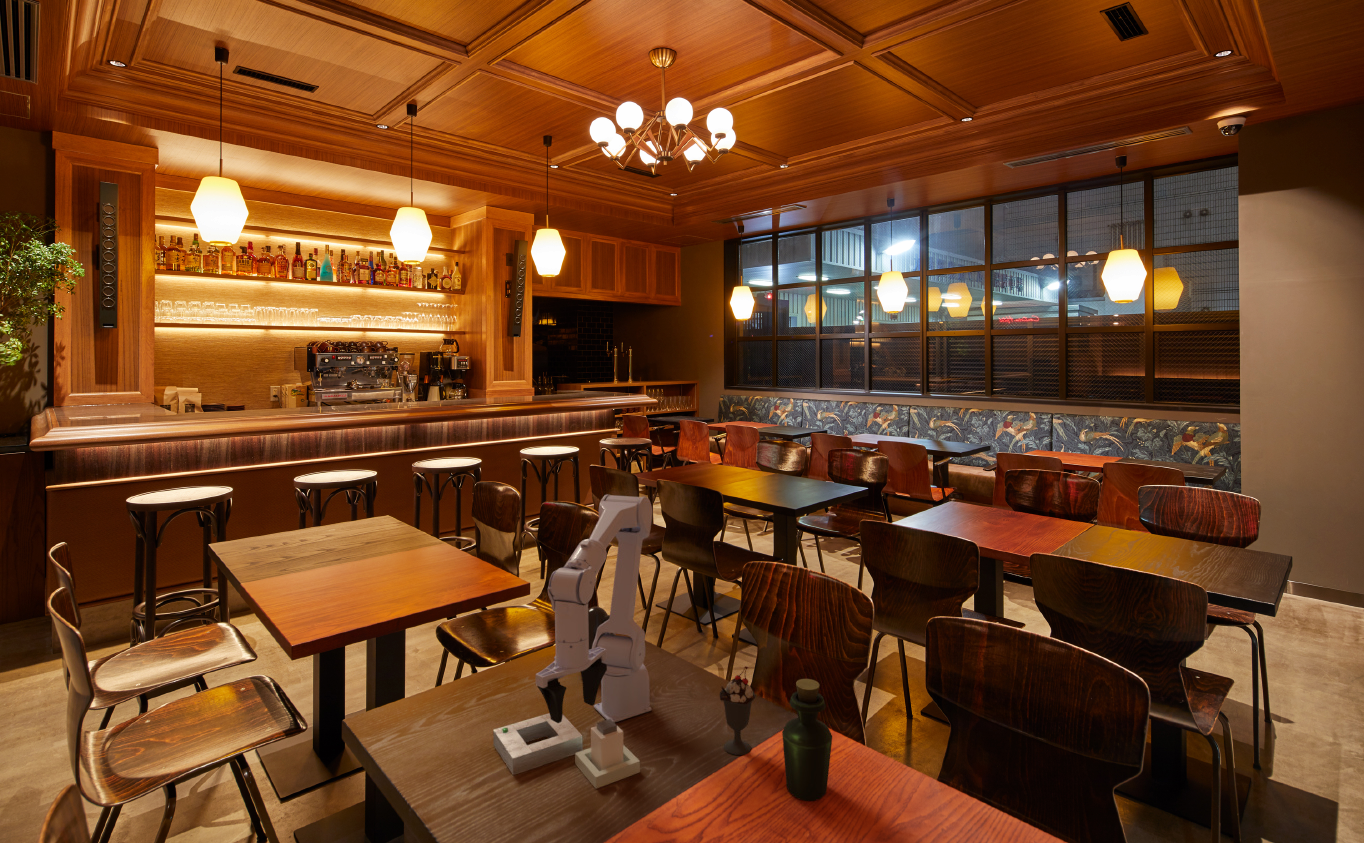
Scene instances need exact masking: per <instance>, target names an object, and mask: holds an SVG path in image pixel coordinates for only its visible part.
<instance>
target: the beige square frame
mask: <svg viewBox="0 0 1364 843" xmlns="http://www.w3.org/2000/svg"><path fill="white" fill-rule="evenodd" d="M574 762H575V763H574V764H575V766H576V767H577V768H578V769H579V771H581V773H582V774H583V775H584V776H585V778H586V779H587V780H588V781H589V782H590V784H591V785H592V786H593V787H594V789H595V790H596V789H599V788H602V787H604V786H607V785H610V784H612V783H615V782H618V781H620V780H623V779H626V778H629V777H630V776H634V775H636V774H639V773H641V761H640V759H639V758H638V757H637V756H635V755H634V754H633V752H632V751H631V750H629V749H628V747H626V746H625V744H623V763H621V764H618V765H615V766H612V767H610V768H607V769H604V770H601V771H598V769H597V768H596V767H595V766H594V765H593V764H592V763H591V747H589V748H587V749H586V748H585V749H583V751H580V752H577V753H575V754H574Z"/></svg>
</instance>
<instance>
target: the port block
mask: <svg viewBox="0 0 1364 843" xmlns="http://www.w3.org/2000/svg"><path fill="white" fill-rule="evenodd" d="M492 730H493V732H492V733H493V734H492V735H493V739H492V740H493V747H494V748H495V750H496V752H497V753H498V755H500V757H501V759H502V760H503V763H504V764H505V763H506V764H505V765H506V767H507V768H508V770H509V771H510V772H511V774H512V776H515V775H518V774H521V773H525V772H527V771H531V770H533V769H536V768H539V767H542V766H545V765H548V764H550V763H554V762H556V761H560V760H562V759H565V758H568V757H570V756H573V755H574V756H575V753H577V752H580V751H583V750H584V749H583V745H584V744H583V735H582V734H581V732H580V731H579V730H578V729H577V728H576V727H575V726H574V725H573V724H572V723H571V721H569V719H568V718H567V717H566V716H565V715H564V714H563V713H562V721H561V722H560V723H556V722H555V721H553V720H551V717H550V713H549V712H548V713H545V714H542V715H539V716H536V717H532V718H528V719H526V720H522V721H518V722H515V723H512V724H508V725H505V726H502V727H498V728H494V729H492ZM542 737H543V738H545V737H547V739H543V740H541V741H537V742H533V743H530V742H532V740H533V741H535V739H537V740H539V739H538V738H540V739H542ZM529 741H530V742H529ZM526 742H527V743H530V744H527V743H526Z"/></svg>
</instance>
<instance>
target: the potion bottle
mask: <svg viewBox="0 0 1364 843" xmlns="http://www.w3.org/2000/svg"><path fill="white" fill-rule="evenodd" d="M795 684H796V685H795V686H796V690H797V691H795V692H793V693H792V695H791V697H790V700H789V706H790V707H791V708H792V709H793V710H795V711H796V713H797V717H795V718H793V719H790V720H788V721H787V722H786V723H785V725H784V727H783V729H782V746H783V748H782V749H783V760H784V769H785V783H786V788H787V791H788V792H789V793H790V794H791V795H792V796H793V797H795V798H796V799H798V800H801V801H805V802H809V801H810V802H815V801H818V800H821V799H822V797H823V796H825V795H826V794H827V791H828V790H827V789H828V782H829V773H830V772H829V770H830V763H831V753H832V752H831V751H832V743H833V735H832V732H831V730H830V729H829V726H828V725H826V724H825V723H824V722H823V721H820V720H819V719H818V715H819V713H821V712H823V711H824V710H825V709H826V707H827V706H826V705H827V704H826V702H825V699H824V697H823V696H822V695H821V693H819V691H820V690H819V689H820V682H818V681H816V680H815V679H810V678H801V679H798V680H796V683H795Z"/></svg>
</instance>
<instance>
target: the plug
mask: <svg viewBox="0 0 1364 843" xmlns="http://www.w3.org/2000/svg"><path fill="white" fill-rule="evenodd" d="M623 745H624V730H623V729H621V728H620V727H619V726H618V725H617V724H616V722H613V721H612V720H611V719H608V720H606V719H605V720H602V721H599V722H596V725H595V726H592V727H590V748H591V763H592V764H593V765H594V766H595V767H596V768H597V769H598V771H601V770H604V769H607V768H610V767H612V766H615V765H618V764H621V763H623Z"/></svg>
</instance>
